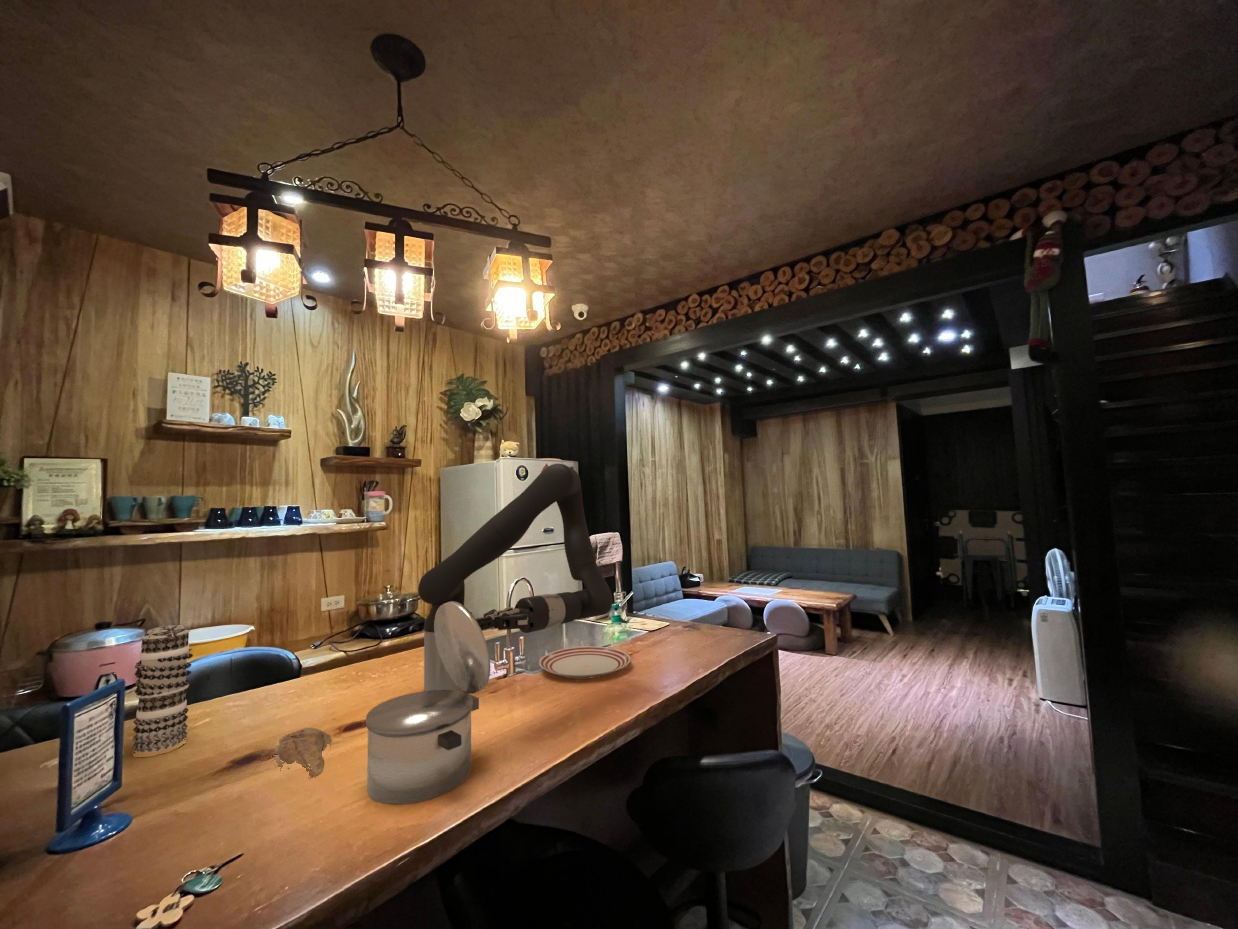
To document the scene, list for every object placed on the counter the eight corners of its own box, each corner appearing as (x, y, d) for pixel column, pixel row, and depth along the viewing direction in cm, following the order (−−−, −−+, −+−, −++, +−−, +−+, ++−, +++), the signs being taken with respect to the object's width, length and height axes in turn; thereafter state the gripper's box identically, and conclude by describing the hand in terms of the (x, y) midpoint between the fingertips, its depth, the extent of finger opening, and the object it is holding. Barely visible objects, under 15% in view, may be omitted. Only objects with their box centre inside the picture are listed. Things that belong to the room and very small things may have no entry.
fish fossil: (344, 771, 94) (343, 765, 94) (278, 797, 87) (278, 790, 87) (318, 727, 113) (318, 722, 114) (263, 745, 107) (263, 740, 107)
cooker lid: (444, 683, 104) (466, 671, 108) (492, 703, 92) (515, 689, 96) (427, 599, 103) (450, 590, 107) (473, 608, 91) (497, 598, 95)
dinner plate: (650, 667, 149) (649, 656, 150) (577, 692, 131) (577, 679, 131) (591, 651, 169) (590, 641, 170) (521, 671, 151) (521, 659, 151)
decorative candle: (197, 735, 112) (202, 620, 114) (175, 754, 103) (181, 629, 105) (146, 743, 109) (152, 624, 111) (119, 762, 100) (126, 633, 102)
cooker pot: (376, 757, 98) (377, 694, 99) (478, 741, 104) (477, 681, 105) (352, 822, 77) (353, 740, 78) (481, 797, 83) (480, 721, 84)
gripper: (522, 593, 118) (454, 603, 105) (559, 598, 109) (490, 610, 96) (522, 625, 117) (454, 640, 104) (559, 633, 108) (490, 650, 95)
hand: (472, 625), depth 100 cm, fingers closed
